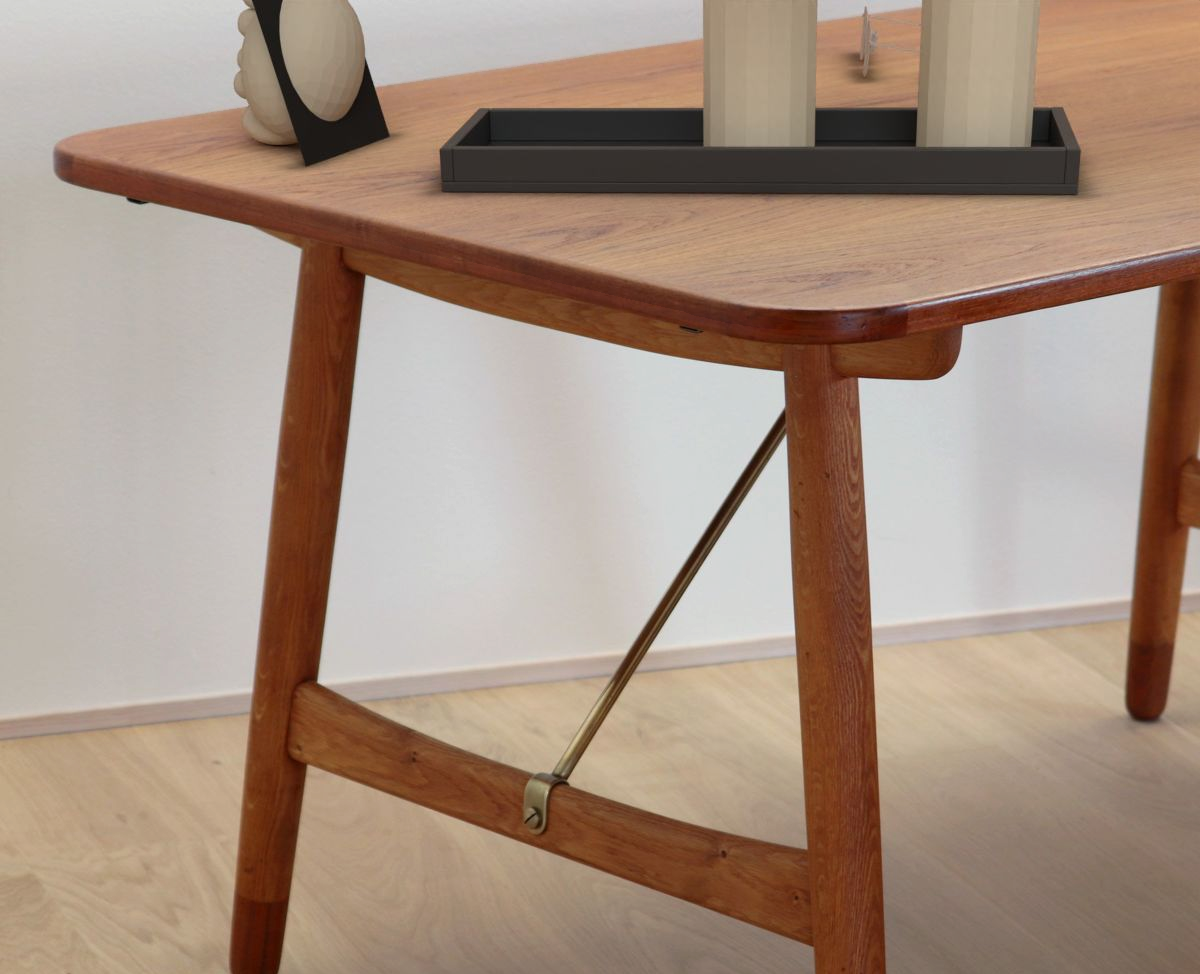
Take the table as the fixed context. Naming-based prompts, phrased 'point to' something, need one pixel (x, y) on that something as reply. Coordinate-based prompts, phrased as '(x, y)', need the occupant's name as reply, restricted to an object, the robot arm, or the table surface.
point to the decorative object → (307, 77)
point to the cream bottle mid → (759, 73)
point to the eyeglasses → (874, 39)
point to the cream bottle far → (977, 73)
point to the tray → (743, 155)
